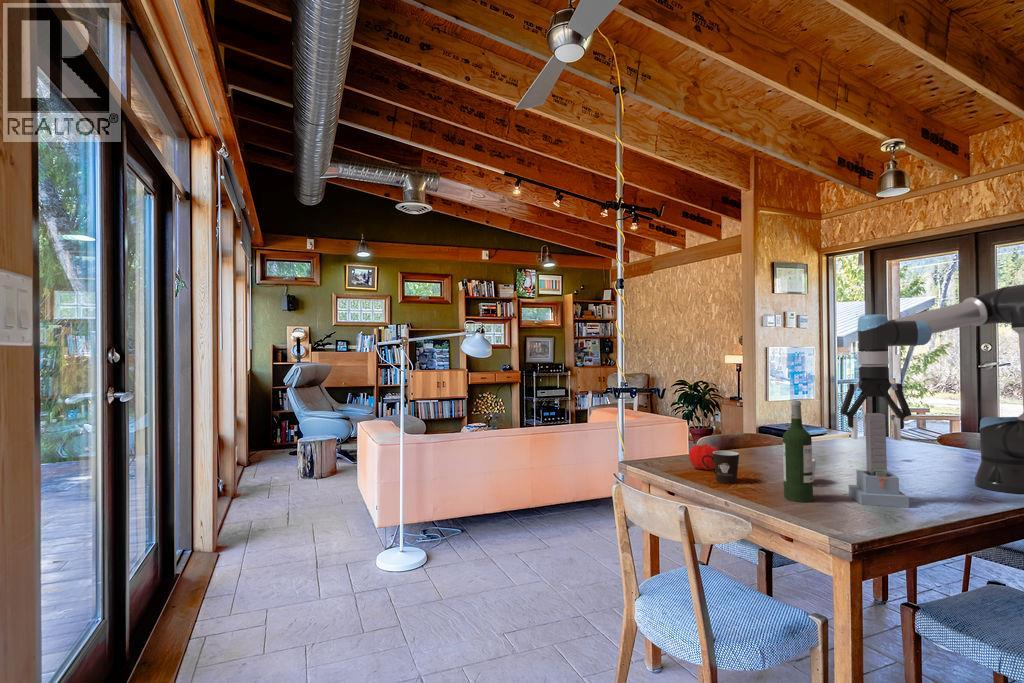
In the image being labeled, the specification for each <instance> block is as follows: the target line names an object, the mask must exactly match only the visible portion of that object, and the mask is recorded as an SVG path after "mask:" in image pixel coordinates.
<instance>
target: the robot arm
mask: <svg viewBox="0 0 1024 683" xmlns="http://www.w3.org/2000/svg"><path fill="white" fill-rule="evenodd" d="M992 324H993V325H994V324H1011V325H1010V326H1011V327H1010V328H1011V330H1012V331H1014V332H1015V333H1016V334H1018V342H1019V343H1018V344H1019V345H1018V346H1019V348H1018V349H1019V360H1020V361H1019V362H1020V375H1021V376H1020V378H1021V393H1022V406H1023V408H1022V410H1023V412H1022V413H1021V414H1020V415H1018V416H991V417H990V416H988V417H987V416H985V417H983V418H981V419H980V422H979V442H980V464H979V466H978V468H977V472H976V474H975V476H974V485H975V486H976V487H979V488H982V489H985V490H990V491H995V492H1002V493H1010V494H1011V493H1012V494H1020V495H1021V494H1022V495H1023V494H1024V284H1019V285H1010V286H1009V285H1008V286H1003V287H999V288H997V289H993V290H990V291H988V292H984V293H981V294H977V295H975V296H971V297H967V298H965V299H964V300H963V301H962V302H958V303H955V304H954V303H953V304H951V305H946V306H942V307H939V308H934V309H930V310H927V311H926V310H925V311H922V312H918V313H914V314H908V315H906V316H900V317H897V318H893V319H890V320H889V318H888V316H887V315H886V314H879V313H878V314H864V315H861V316H859V317H858V320H857V329H856V330H857V345H858V346H857V347H858V365H861V366H859V367H858V378H859V379H858V380H859V381H858V382H857V383H852V382H848V383H847V384H846V385H847V386H846V387H847V391H846V394H845V397H844V399H843V403H842V406H841V409H840V411H839V412H840V414H841V415H843V416H846V417H847V427H848V428H850V429H851V439H853V440H858V417H856V416H855V415H856V414H857V412H858V411H859V409H860V408H861V406H862V405H863V403H864V402H865V400H866V399H867V398H868V397H869V398H870V397H871V398H873V397H879V398H882V399H883V400H884V402H886V404H887V405H888V406H889V407H890V409H891V410H892V412H893V413H894V414H895V416H896V417H893V434H894V438H893V439H894V440H896V441H899V442H900V441H902V439H901V438H902V436H901V434H902V432H901V431H902V430H904V428H905V418H906V417H911V416H912V412H911V409H910V407H909V404H908V402H907V399H906V397H905V395H904V392H903V384H902V383H900V382H897V383H891V382H890V368H889V366H887V365H889V364H890V360H889V347H904V346H905V347H906V346H907V347H908V346H911V347H912V346H913V347H917V346H924V345H927V344H928V343H930V341H931V338H932V334H938V333H941V332H946V331H949V330H953V329H954V330H955V329H958V328H962V327H967V326H974V327H979V326H984V325H992ZM857 388H858V389H860V391H861V392H860V393H859V395H858V397H857V399H856V400H855V401H854V403H853V404H852V406H851V403H852V400H853V397H854V395H855V391H856V390H857ZM890 389H891V390H893V391H894V394H895V396H896V399H897V402H898V403H899V406H900V407H898V405H897V404H896V402H895V401H894V399H892V396H891V395H890V394H889V392H888V391H889V390H890ZM850 406H851V407H850ZM900 408H901V409H900Z"/></svg>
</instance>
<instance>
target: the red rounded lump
mask: <svg viewBox="0 0 1024 683" xmlns="http://www.w3.org/2000/svg"><path fill="white" fill-rule="evenodd" d="M714 451H720V450H719V449H718V448H717V447H715V446H710V445H709V444H706V443H703V444H697V445H694V446H693V447H691V449H690V451H689V455H688V458H689V462H690V463H691V466H692V467H694V468H695V469H698V470H700V469H702V470H706V471H711V470H710V469H708V468H707V467H706V466H705V465H704V464H703V462H702V458H703V456H705V455H710V456H712V457H713V452H714ZM704 463H705V464H706V465H707V466H708V467H710V468H711V469H713V470H715V466H714V462H713V460H712V459H711V458H710V457H705V458H704Z"/></svg>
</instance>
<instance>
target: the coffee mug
mask: <svg viewBox="0 0 1024 683" xmlns="http://www.w3.org/2000/svg"><path fill="white" fill-rule="evenodd" d="M705 457H710V458H711V459H712V460H713V462H714V466H715V468H714V469H711V468H710V467H708V466H707V465H706V464H705V463H704V458H705ZM739 458H740V453H739V452H736V451H731V450H719V451H714V452H713V457H712V456H710V455H705V456H703V458H702V462H703V464H704V465H705V466H706V467H707V468H708V469H710V470H709V471H710V472H713V473H714V474H715V478H716V482H717V483H719V484H721V485H722V484H723V485H724V484H725V485H735V484H737V483H738V482H737V480H738V470H739V460H740V459H739ZM734 483H735V484H734Z"/></svg>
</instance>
